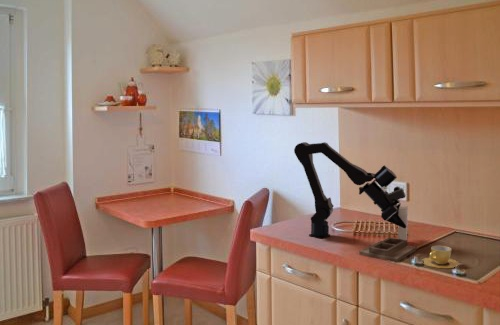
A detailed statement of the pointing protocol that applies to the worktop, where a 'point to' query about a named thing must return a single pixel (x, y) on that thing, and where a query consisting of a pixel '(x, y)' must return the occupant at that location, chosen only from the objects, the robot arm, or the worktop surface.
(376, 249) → the rack
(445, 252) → the cup
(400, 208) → the clay block
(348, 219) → the worktop surface
